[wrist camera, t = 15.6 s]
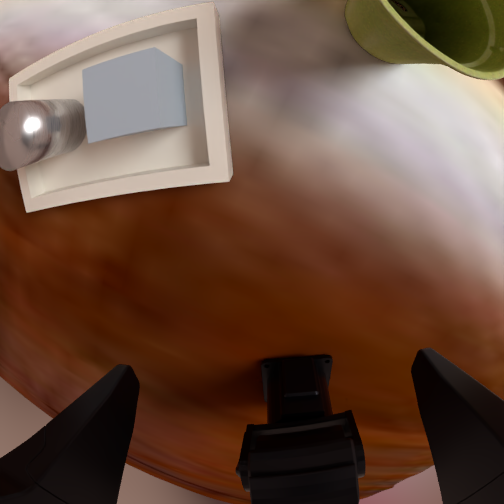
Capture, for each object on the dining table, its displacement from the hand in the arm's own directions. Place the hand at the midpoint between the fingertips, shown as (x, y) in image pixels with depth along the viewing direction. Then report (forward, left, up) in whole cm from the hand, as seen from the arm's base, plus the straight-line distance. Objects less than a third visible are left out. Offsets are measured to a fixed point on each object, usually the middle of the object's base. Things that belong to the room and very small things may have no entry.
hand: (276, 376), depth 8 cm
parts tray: (+9, +10, -13) cm, 19 cm away
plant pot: (+14, -9, -13) cm, 21 cm away
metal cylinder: (+9, +13, -12) cm, 20 cm away
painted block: (+9, +6, -12) cm, 16 cm away
